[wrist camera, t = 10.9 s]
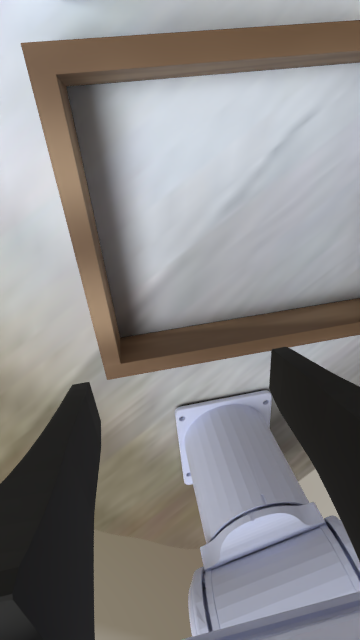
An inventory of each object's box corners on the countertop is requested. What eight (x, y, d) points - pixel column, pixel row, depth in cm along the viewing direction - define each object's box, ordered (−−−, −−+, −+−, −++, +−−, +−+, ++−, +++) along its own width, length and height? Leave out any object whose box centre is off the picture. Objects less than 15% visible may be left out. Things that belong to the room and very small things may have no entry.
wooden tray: (373, 307, 24) (404, 326, 22) (108, 352, 22) (107, 379, 20) (436, 31, 17) (496, 11, 14) (37, 61, 14) (20, 42, 12)
